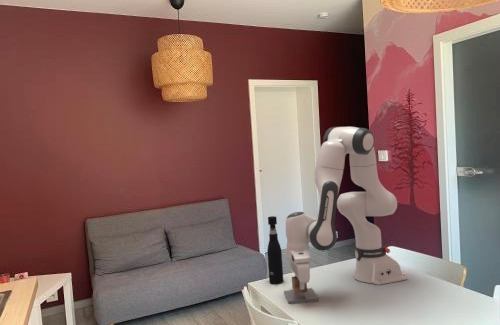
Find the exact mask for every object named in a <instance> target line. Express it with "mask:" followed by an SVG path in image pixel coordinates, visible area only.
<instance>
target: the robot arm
mask: <svg viewBox="0 0 500 325" xmlns="http://www.w3.org/2000/svg"><path fill="white" fill-rule="evenodd" d="M374 136H375V135H373V133H372V131H371V130H370V129H368V128H365V127H356V126H333V127H332V126H331V127H330V128H329V127H328V129H327V130H326V131H325V133H324V136H323V139H322V140H323V141H322V144H321V145H320V146H321V147H320V149H319V151H318V155H317V158H316V164H315V169H314V183H315V186H316V188H317V190H318V194H319V206H318V214H317V217H313V216H311V215H309V214H307V213H305V212H304V211H296V212H292V213H290V214H288V216H286V219H285V236H286V240H287V241H286V255H287V256H286V257H287V258H288V259H289V261H290V262H289V264H290V269H291V270H292V272H293V273H294V276H296V277H297V278H298V280H299V288H300V289H301V290H304V289H305V287H304V285H305V283H307V284H308V283H310V279H311V269H310V268H311V266H310V263H311V262H312V260H311V259H312V258H311V255H310V254H311V253H310V249H309V247H310V246H309V243H310V244H311V246H312V247H313V248H314V249H316V250H317V251H321V252H322V251H323V252H325V251H329V250H331V249H332V248H333V247H334V246H336V242H337V240H338V235H337V231H336V226H335V219H336V214H337V212H336V211H337V209H338V212H339V213H340V214H341V215H342V216H344V217H345V218H346V219H347V220H348V221H349V222H350V224H351V226H352V227H353V232H354V237H355V246H354V249H355V250H354V253H355V254H354V255H355V259H356V262H355V271H354V275H353V277H354V279H355V280H357V281H359V282H362V283H369V284H374V285H377V286H378V285H384V284H390V283H396V282H400V281H406V280H408V276H407V274H406V273H405V272H403V271H402V269H401V266H400V264H399V263H398V261H397V260H396V259H394V258H392V257H391V256H389V255H388V254H390V252H391V249H390V248H388V247H385V246H383V245H382V232H381V231H382V230H381V229H380V227H378V226H377V225H376V224H374V223H371V222H369V221H368V220H367V218H366V217H385V216H390V215H394V214H395V212H396V210H397V208H398V200H397V197H396V196H395V195H394V194H393V193H392V192H390V190H387V189H386V188H385V187H384V185H383V184H382V183H381V181H380V179H379V176H378V166H377V156H376V151H375V146H374V145H375V137H374ZM347 154H349V167H350V168H349V169H350V179H351V181H352V182H353V183H354V184H355V185H357V186H358V187H360V188H362V189H364V190H365V191H349V192H344V193H341V194H339V191H340V187H341V183H342V179H343V175H344V170H345V162H346V161H345V160H346V155H347Z"/></svg>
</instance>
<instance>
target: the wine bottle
mask: <svg viewBox="0 0 500 325" xmlns="http://www.w3.org/2000/svg"><path fill="white" fill-rule="evenodd" d="M277 220H278V218H277V216H276V215H275V216H274V215H272V216H268V217H267V221H268V222H267V223H268V226H269V234H268V236H269V238H268V239H269V241H268V244H267V267H268V279H269V284H271V285H280V284H283V283H284V271H283V270H284V269H283V268H284V267H283V255H282V253H283V252H282V247H281V244H280V241H279V238H278V232H277V229H276V228H277V227H276V225H277V224H278V221H277Z"/></svg>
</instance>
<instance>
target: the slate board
mask: <svg viewBox="0 0 500 325" xmlns="http://www.w3.org/2000/svg"><path fill="white" fill-rule="evenodd" d="M283 294H284V297H285V299H286V301H287V304H288V305H294V304H305V303H312V302H313V303H314V302H319V300H320V299H319V297H318V295H317V293H315V290H313V288H312V287H309V288H308V287H307V292H301V293H295V292H294V290H293V289H289V290H283Z"/></svg>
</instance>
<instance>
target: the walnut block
mask: <svg viewBox="0 0 500 325" xmlns="http://www.w3.org/2000/svg"><path fill="white" fill-rule="evenodd" d="M307 284H308V282H307V283H305V285H304V287H305V289H304V290H301V289H300V288H299V280H298V278H297V277H296V276H295V275H294V276H291V286H292V287H291V288H292V290H294V292H295V293H301V292H307V288H308V286H307Z"/></svg>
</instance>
